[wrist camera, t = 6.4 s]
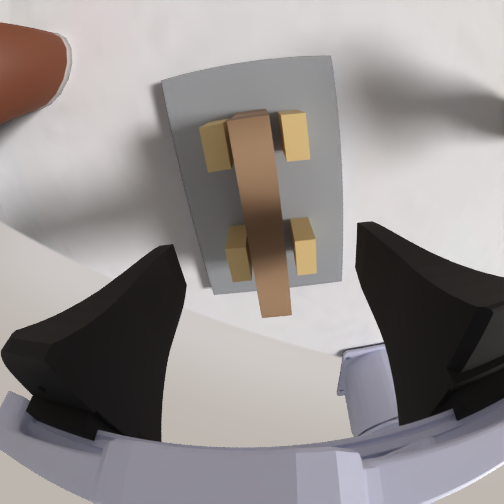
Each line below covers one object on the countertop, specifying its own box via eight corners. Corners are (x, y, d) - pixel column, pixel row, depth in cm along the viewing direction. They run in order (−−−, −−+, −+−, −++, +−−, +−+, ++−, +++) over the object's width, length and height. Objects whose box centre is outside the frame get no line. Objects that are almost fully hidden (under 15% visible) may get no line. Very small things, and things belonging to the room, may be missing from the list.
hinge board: (338, 273, 22) (350, 307, 18) (215, 286, 23) (208, 321, 19) (327, 57, 14) (345, 48, 10) (166, 81, 15) (141, 79, 11)
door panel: (284, 254, 20) (291, 314, 15) (261, 257, 20) (262, 317, 15) (266, 108, 15) (268, 115, 10) (238, 112, 15) (226, 121, 10)
